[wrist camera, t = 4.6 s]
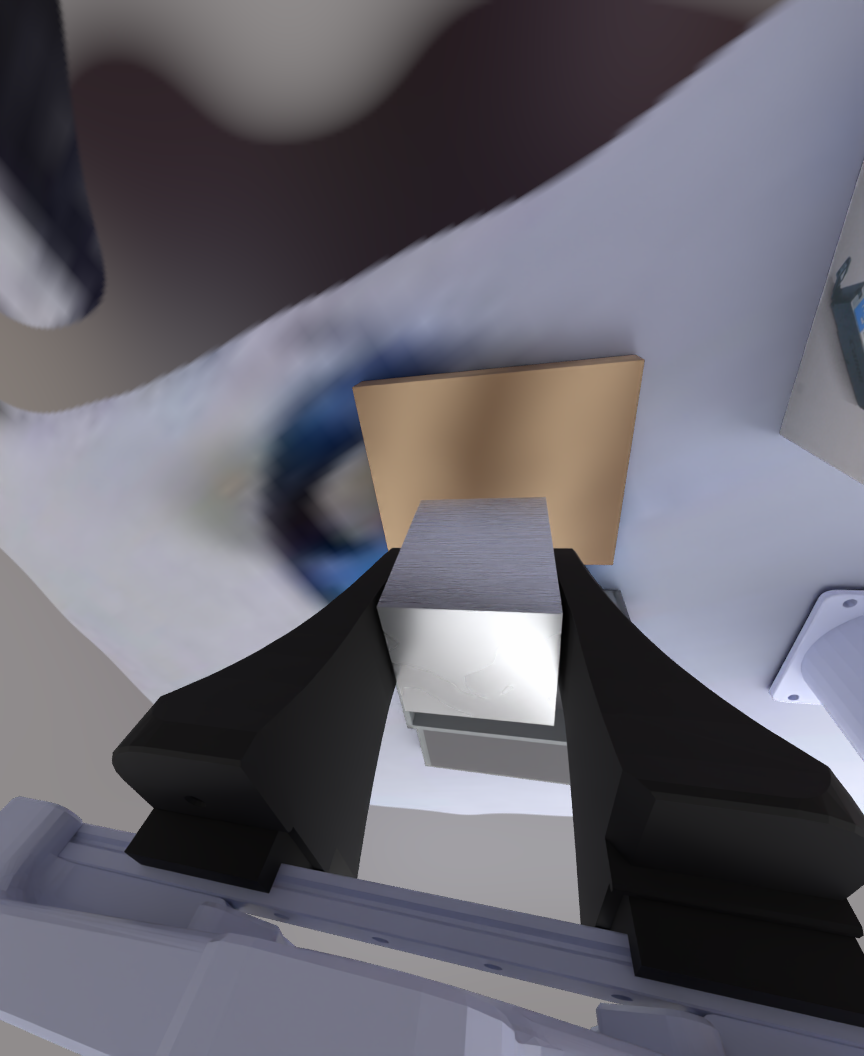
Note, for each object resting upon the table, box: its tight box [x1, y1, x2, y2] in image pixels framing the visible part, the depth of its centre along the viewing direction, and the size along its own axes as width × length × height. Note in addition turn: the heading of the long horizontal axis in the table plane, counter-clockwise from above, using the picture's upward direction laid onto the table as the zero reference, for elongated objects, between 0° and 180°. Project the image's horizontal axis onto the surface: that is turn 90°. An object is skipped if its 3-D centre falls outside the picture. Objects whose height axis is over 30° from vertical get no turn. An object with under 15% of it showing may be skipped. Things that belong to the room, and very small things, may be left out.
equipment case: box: [396, 590, 631, 785], centre depth 25 cm, size 13×19×2 cm
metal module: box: [377, 497, 563, 726], centre depth 11 cm, size 4×4×5 cm
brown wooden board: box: [352, 355, 645, 565], centre depth 17 cm, size 11×9×1 cm
